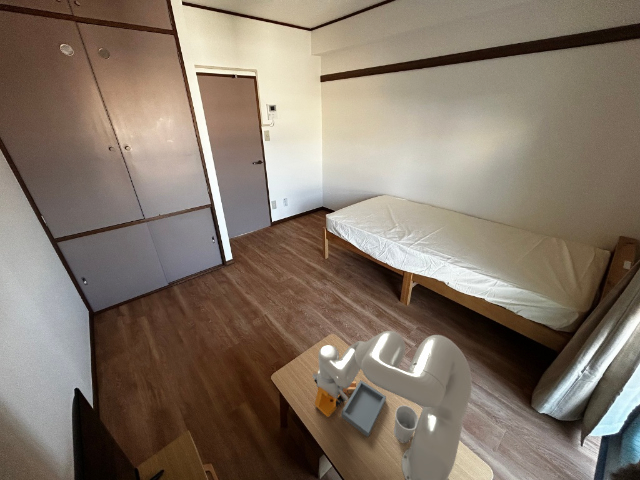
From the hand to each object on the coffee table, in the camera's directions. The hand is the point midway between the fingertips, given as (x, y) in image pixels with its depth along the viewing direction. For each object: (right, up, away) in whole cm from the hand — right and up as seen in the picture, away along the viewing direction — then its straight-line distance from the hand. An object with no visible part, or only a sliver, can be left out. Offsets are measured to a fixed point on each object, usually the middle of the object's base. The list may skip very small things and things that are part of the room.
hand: (329, 397), depth 103 cm
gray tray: (+14, -4, -1) cm, 15 cm away
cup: (+28, -8, -9) cm, 30 cm away
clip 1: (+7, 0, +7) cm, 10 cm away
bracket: (0, -3, +2) cm, 4 cm away
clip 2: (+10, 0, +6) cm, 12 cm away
